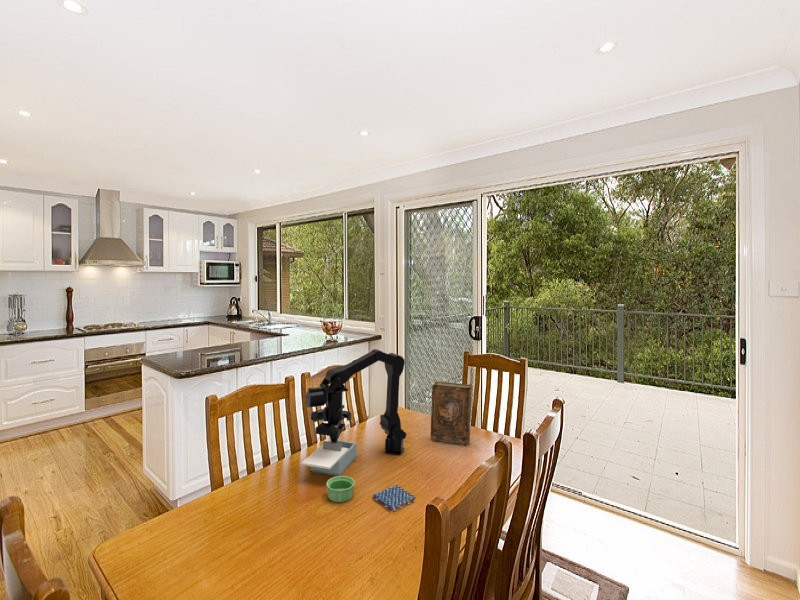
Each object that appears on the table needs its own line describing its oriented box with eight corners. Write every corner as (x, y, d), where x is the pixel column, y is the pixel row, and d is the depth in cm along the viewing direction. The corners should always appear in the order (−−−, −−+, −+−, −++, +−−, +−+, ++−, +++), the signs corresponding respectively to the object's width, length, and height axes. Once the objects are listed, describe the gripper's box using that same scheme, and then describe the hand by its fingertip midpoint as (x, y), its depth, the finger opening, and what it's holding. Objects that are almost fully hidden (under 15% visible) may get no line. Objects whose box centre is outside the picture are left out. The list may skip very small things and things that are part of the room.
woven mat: (370, 500, 128) (370, 494, 128) (395, 489, 135) (396, 483, 135) (390, 515, 120) (391, 508, 120) (417, 503, 127) (417, 496, 127)
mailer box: (330, 452, 160) (331, 439, 159) (356, 456, 157) (356, 443, 156) (311, 471, 144) (311, 456, 144) (339, 476, 141) (339, 461, 141)
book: (470, 441, 174) (472, 384, 172) (468, 446, 168) (470, 388, 167) (433, 436, 178) (434, 381, 177) (430, 441, 173) (432, 384, 172)
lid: (322, 446, 152) (322, 438, 152) (348, 450, 149) (348, 442, 149) (301, 464, 137) (301, 455, 137) (329, 469, 134) (329, 460, 134)
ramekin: (320, 498, 127) (320, 485, 127) (337, 485, 135) (337, 473, 135) (343, 506, 123) (343, 493, 123) (359, 493, 131) (360, 480, 131)
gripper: (326, 394, 159) (325, 432, 160) (302, 408, 142) (301, 451, 143) (352, 397, 156) (351, 436, 157) (330, 412, 138) (330, 456, 139)
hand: (333, 444), depth 149 cm, fingers closed
